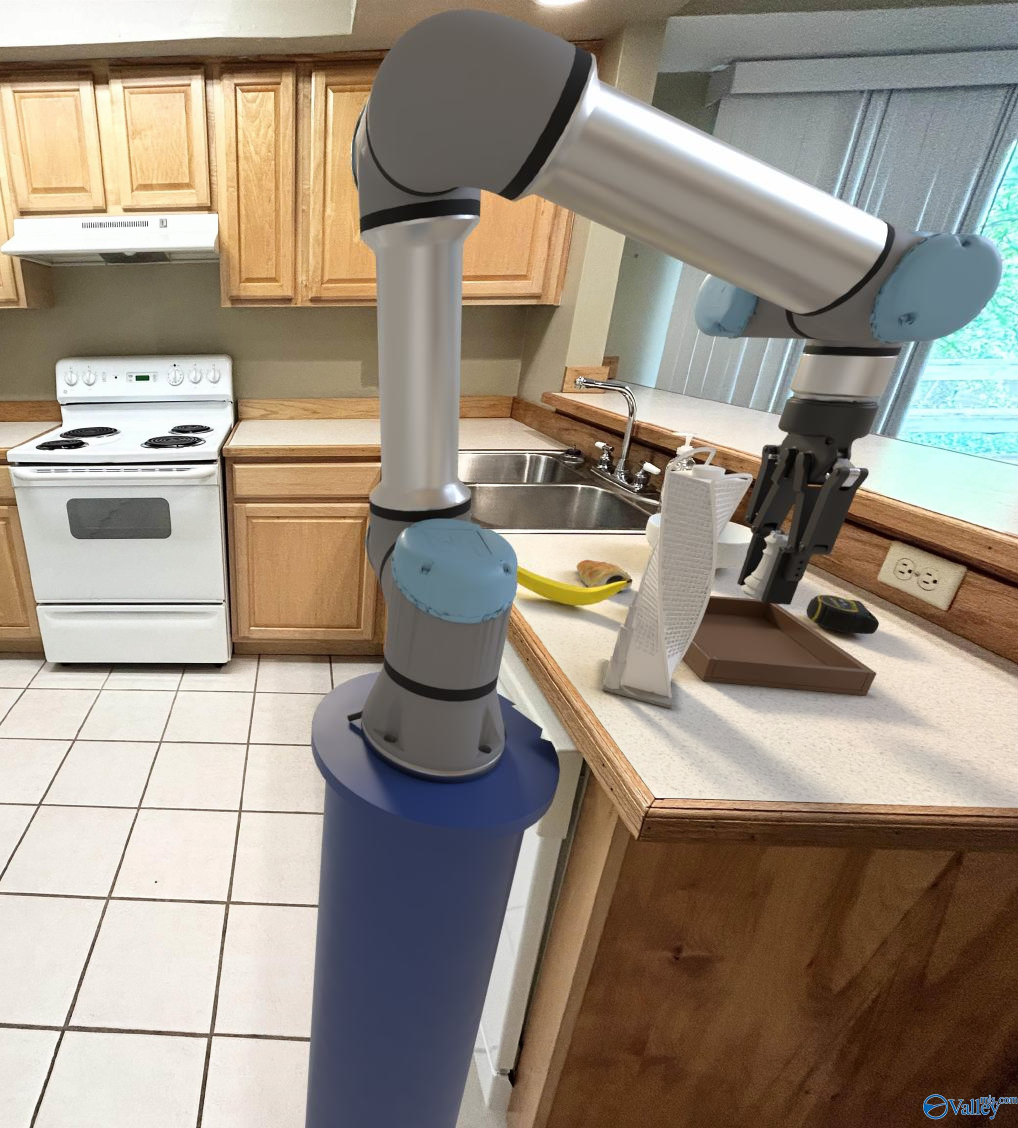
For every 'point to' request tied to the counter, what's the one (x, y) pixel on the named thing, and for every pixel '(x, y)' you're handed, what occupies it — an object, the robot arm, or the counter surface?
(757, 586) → the rook chess piece
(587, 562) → the pastry
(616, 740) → the counter surface
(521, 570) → the banana
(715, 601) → the tray
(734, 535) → the cereal bowl
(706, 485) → the skyscraper
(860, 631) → the tape measure
